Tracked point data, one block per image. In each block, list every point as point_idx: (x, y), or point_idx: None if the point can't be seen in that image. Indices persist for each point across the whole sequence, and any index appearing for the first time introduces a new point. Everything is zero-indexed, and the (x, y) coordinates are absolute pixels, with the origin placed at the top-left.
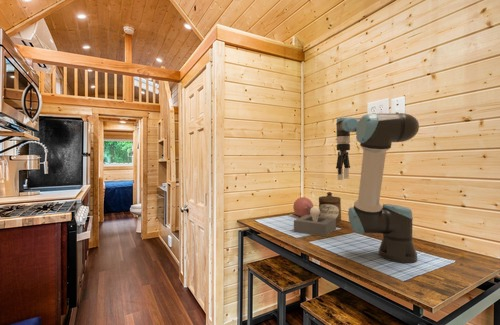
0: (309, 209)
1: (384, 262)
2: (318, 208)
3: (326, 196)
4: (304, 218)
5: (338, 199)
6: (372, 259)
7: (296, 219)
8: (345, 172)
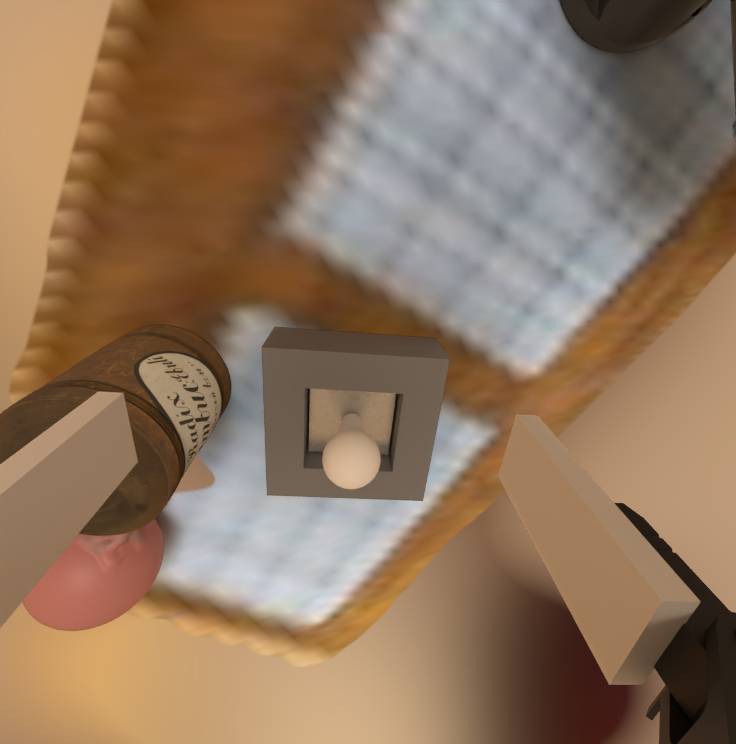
0: None
1: None
2: (352, 454)
3: None
4: None
5: None
6: (701, 81)
7: (399, 497)
8: (48, 530)
